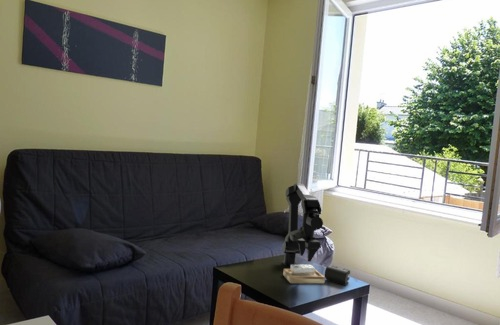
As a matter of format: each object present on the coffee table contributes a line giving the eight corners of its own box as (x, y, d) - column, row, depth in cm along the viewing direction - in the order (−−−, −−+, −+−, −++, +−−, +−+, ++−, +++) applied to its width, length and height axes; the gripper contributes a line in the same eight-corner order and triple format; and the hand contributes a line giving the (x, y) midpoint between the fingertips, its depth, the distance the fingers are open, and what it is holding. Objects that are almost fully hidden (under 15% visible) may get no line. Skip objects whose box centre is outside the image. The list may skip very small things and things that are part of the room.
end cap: (323, 281, 180) (325, 267, 180) (329, 277, 186) (330, 263, 186) (344, 287, 175) (346, 272, 174) (349, 283, 180) (351, 269, 180)
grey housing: (309, 273, 184) (310, 264, 184) (314, 276, 179) (315, 268, 179) (289, 273, 181) (290, 264, 181) (293, 276, 176) (294, 268, 176)
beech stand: (283, 274, 184) (283, 268, 184) (314, 275, 188) (315, 268, 188) (290, 283, 173) (291, 276, 173) (324, 283, 177) (324, 276, 177)
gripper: (285, 220, 187) (282, 252, 187) (299, 228, 168) (295, 264, 169) (307, 221, 189) (304, 252, 190) (323, 229, 171) (319, 264, 172)
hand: (305, 258), depth 180 cm, fingers open, 9 cm apart
